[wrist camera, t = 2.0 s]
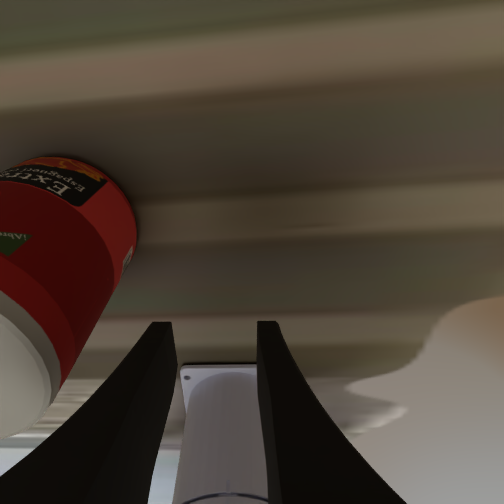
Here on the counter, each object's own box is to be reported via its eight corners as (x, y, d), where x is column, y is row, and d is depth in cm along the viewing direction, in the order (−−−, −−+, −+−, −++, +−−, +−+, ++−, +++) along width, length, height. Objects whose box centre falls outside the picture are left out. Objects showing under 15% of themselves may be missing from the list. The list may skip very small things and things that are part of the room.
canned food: (111, 139, 18) (-41, 239, 8) (158, 266, 22) (92, 431, 12) (-25, 165, 18) (-313, 286, 9) (46, 284, 22) (-101, 455, 13)
